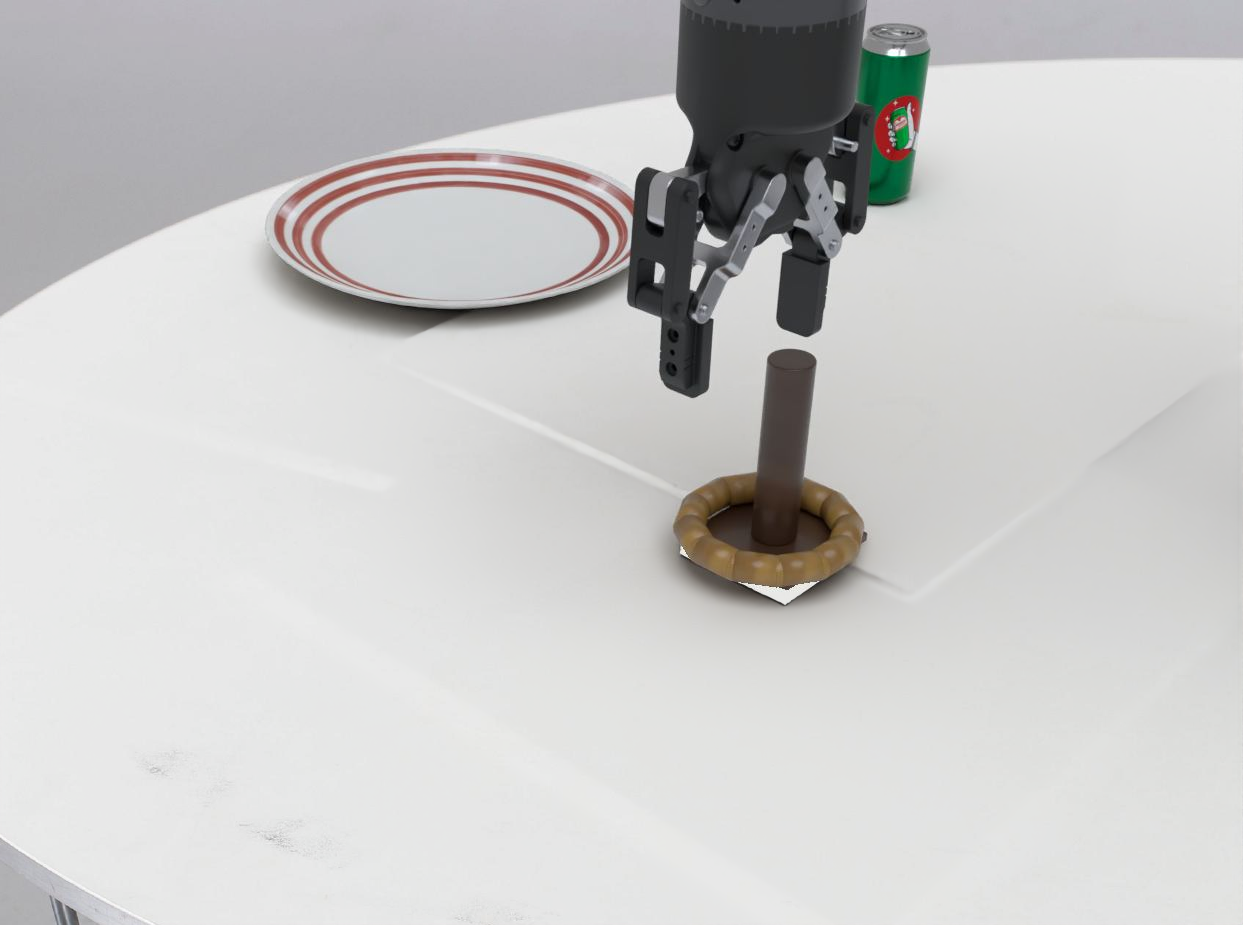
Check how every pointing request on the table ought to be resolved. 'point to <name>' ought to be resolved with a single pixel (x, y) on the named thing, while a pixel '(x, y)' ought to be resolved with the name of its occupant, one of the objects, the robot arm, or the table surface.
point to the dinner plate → (455, 227)
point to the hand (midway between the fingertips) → (743, 359)
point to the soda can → (893, 104)
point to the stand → (779, 467)
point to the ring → (761, 565)
